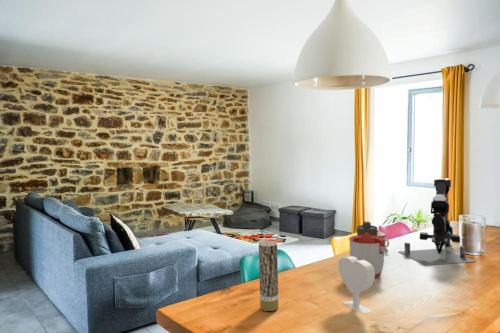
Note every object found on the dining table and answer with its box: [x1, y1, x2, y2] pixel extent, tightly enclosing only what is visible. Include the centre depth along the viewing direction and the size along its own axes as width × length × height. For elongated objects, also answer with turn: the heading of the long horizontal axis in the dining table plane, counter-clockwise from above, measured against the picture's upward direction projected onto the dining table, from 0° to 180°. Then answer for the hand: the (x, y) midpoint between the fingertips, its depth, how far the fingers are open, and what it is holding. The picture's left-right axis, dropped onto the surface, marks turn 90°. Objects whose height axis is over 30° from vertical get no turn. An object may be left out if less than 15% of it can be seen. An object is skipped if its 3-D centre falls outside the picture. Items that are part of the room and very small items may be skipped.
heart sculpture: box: [338, 255, 376, 314], centre depth 149 cm, size 16×5×18 cm, turn 28°
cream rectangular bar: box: [442, 244, 447, 260], centre depth 209 cm, size 18×2×5 cm, turn 155°
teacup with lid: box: [377, 228, 390, 248], centre depth 226 cm, size 12×9×12 cm
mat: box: [398, 248, 477, 267], centre depth 211 cm, size 27×26×1 cm
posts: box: [404, 241, 466, 258], centre depth 211 cm, size 26×14×6 cm, turn 99°
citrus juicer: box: [348, 232, 389, 279], centre depth 183 cm, size 16×17×20 cm
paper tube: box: [258, 239, 279, 312], centre depth 149 cm, size 7×7×25 cm
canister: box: [356, 221, 378, 236], centre depth 208 cm, size 11×10×20 cm
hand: (439, 253), depth 207 cm, fingers closed
